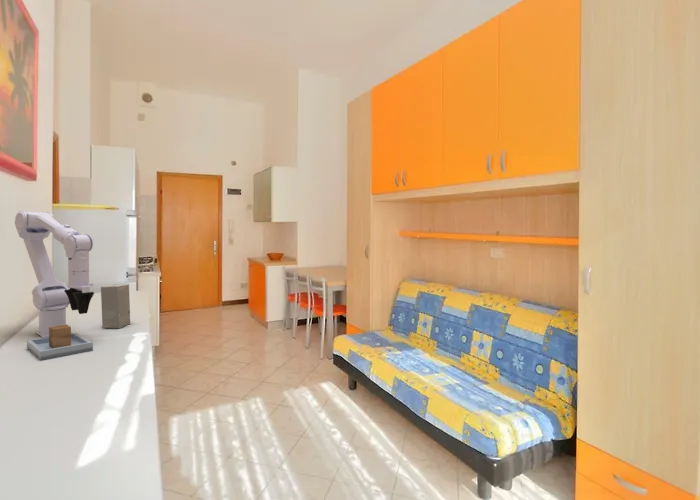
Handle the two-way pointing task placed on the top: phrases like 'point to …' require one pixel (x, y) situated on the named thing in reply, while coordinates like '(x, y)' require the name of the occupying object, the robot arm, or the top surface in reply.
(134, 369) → the top surface
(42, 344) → the tray
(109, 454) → the top surface
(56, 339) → the walnut block
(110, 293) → the skincare box
